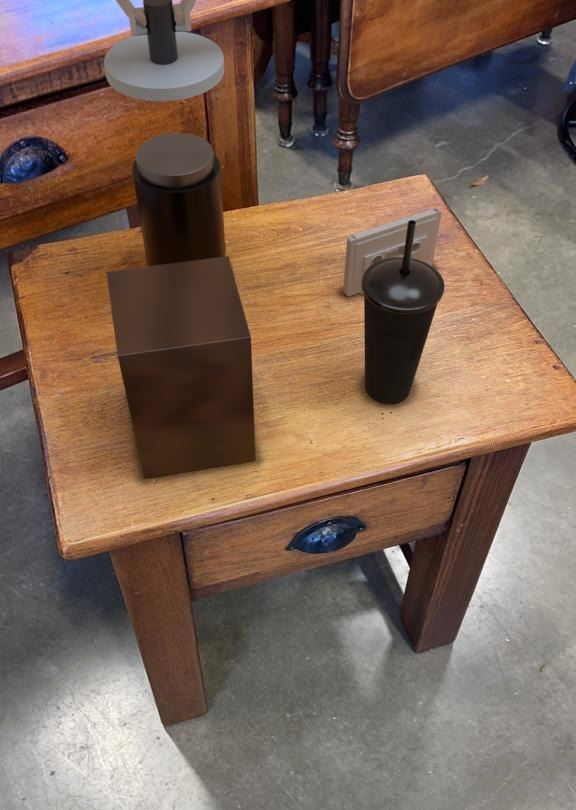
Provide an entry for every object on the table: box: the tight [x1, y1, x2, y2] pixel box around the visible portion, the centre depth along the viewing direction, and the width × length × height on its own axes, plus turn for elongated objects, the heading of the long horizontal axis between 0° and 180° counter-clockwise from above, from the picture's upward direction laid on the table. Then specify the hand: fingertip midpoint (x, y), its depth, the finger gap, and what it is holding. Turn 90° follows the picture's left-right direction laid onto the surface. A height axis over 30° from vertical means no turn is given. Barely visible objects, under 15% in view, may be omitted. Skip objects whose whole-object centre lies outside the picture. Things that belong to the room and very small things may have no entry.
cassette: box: [342, 207, 442, 297], centre depth 95 cm, size 12×2×8 cm, turn 118°
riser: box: [106, 255, 257, 479], centre depth 77 cm, size 11×11×16 cm
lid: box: [103, 0, 225, 102], centre depth 76 cm, size 11×11×6 cm
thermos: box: [131, 132, 227, 267], centre depth 92 cm, size 9×9×16 cm
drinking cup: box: [361, 220, 445, 405], centre depth 79 cm, size 8×8×20 cm
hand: (161, 31), depth 76 cm, fingers closed on lid, 2 cm apart
